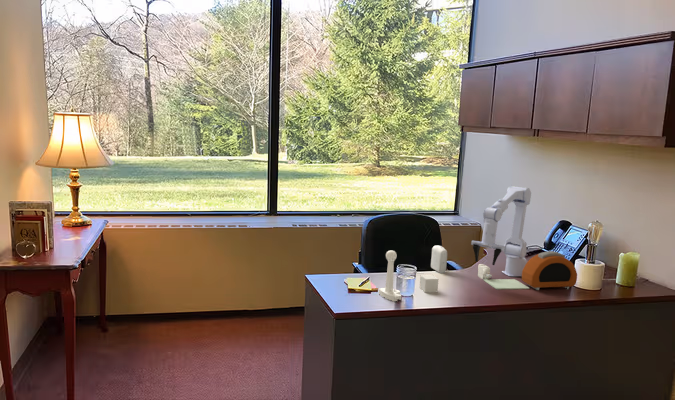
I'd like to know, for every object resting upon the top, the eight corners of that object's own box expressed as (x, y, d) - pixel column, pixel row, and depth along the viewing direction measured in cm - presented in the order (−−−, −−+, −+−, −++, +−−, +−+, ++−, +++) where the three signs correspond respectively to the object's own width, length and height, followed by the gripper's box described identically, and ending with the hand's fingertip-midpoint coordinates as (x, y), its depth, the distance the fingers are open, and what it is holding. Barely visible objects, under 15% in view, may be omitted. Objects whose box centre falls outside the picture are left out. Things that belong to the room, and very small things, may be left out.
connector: (482, 275, 255) (483, 264, 254) (492, 281, 245) (493, 270, 244) (476, 275, 255) (477, 264, 254) (486, 281, 244) (487, 270, 243)
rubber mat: (514, 280, 249) (514, 279, 249) (529, 288, 236) (529, 287, 236) (483, 280, 246) (483, 279, 246) (496, 289, 234) (496, 288, 233)
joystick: (376, 294, 220) (379, 247, 217) (390, 291, 224) (393, 246, 221) (392, 302, 210) (395, 254, 207) (407, 299, 214) (410, 252, 211)
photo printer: (447, 273, 256) (448, 248, 254) (439, 273, 255) (441, 248, 253) (437, 267, 266) (438, 243, 264) (429, 267, 265) (431, 243, 263)
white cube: (424, 292, 225) (425, 279, 224) (419, 288, 230) (420, 275, 230) (437, 292, 226) (438, 278, 225) (431, 287, 232) (432, 274, 231)
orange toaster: (531, 290, 234) (535, 254, 231) (520, 284, 242) (523, 249, 240) (576, 289, 239) (580, 254, 237) (563, 283, 248) (567, 249, 245)
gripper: (471, 231, 236) (467, 260, 237) (504, 237, 230) (499, 267, 231) (474, 230, 243) (470, 259, 243) (506, 236, 236) (502, 265, 237)
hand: (484, 263), depth 237 cm, fingers open, 7 cm apart
